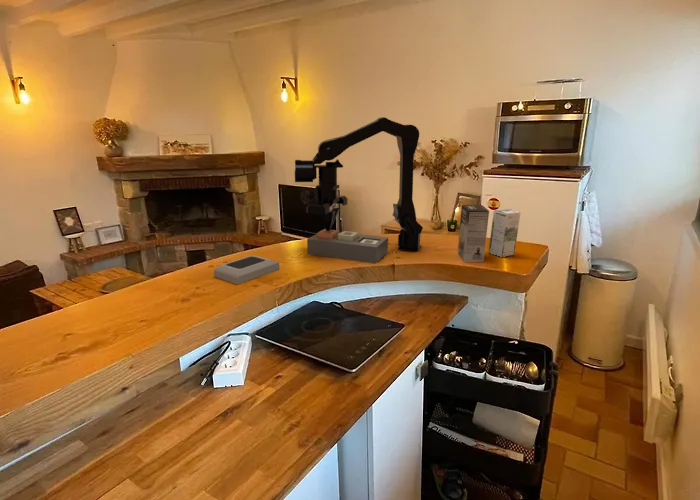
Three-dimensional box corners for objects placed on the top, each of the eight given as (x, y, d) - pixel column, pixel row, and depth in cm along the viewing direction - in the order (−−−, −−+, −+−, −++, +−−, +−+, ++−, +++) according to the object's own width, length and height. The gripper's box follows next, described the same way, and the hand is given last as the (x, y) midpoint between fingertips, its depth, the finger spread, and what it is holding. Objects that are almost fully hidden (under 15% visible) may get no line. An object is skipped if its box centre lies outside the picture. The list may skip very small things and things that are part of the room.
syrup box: (501, 251, 139) (506, 207, 134) (515, 256, 133) (520, 211, 129) (488, 253, 136) (492, 209, 132) (501, 258, 131) (507, 212, 127)
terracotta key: (338, 239, 138) (338, 230, 137) (332, 243, 133) (332, 233, 132) (324, 237, 139) (324, 228, 138) (317, 241, 135) (317, 232, 134)
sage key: (358, 241, 135) (358, 232, 134) (352, 245, 131) (352, 235, 130) (343, 240, 137) (343, 230, 136) (337, 243, 132) (337, 234, 132)
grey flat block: (278, 258, 119) (236, 272, 107) (279, 270, 120) (237, 286, 108) (255, 252, 124) (213, 265, 112) (256, 264, 125) (214, 278, 113)
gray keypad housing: (387, 252, 136) (388, 237, 135) (376, 263, 125) (376, 247, 124) (323, 244, 144) (323, 230, 143) (307, 254, 134) (307, 239, 132)
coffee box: (456, 253, 136) (460, 204, 132) (476, 253, 136) (481, 204, 131) (463, 262, 127) (468, 210, 123) (484, 262, 127) (490, 210, 123)
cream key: (378, 249, 133) (378, 240, 132) (373, 254, 129) (373, 244, 128) (363, 248, 135) (364, 238, 134) (358, 252, 131) (358, 242, 130)
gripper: (317, 177, 142) (318, 222, 146) (290, 184, 125) (292, 234, 130) (348, 179, 138) (347, 225, 143) (324, 186, 121) (324, 238, 126)
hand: (328, 230), depth 135 cm, fingers closed
